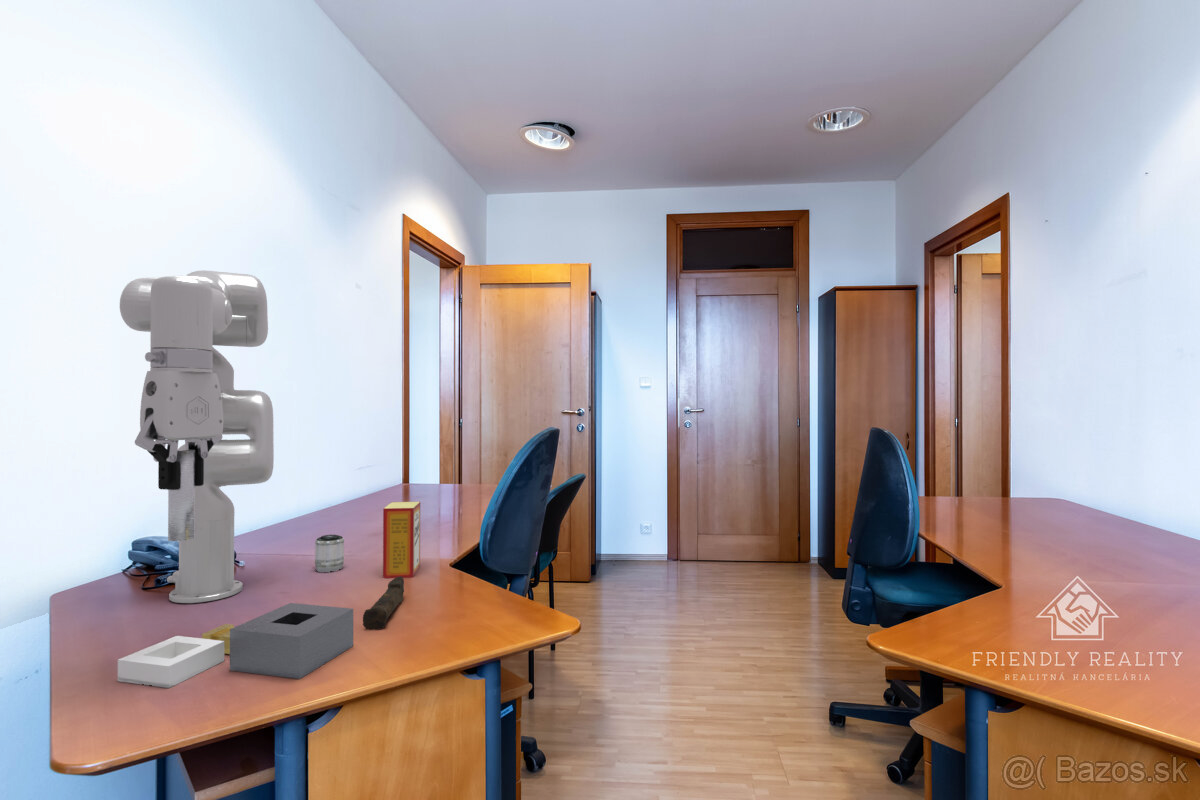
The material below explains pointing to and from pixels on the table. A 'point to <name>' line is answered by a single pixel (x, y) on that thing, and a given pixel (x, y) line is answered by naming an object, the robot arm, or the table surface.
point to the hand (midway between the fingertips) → (181, 486)
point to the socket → (291, 640)
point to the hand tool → (384, 605)
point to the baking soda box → (401, 539)
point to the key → (220, 635)
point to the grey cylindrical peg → (183, 500)
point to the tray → (170, 661)
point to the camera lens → (329, 553)
